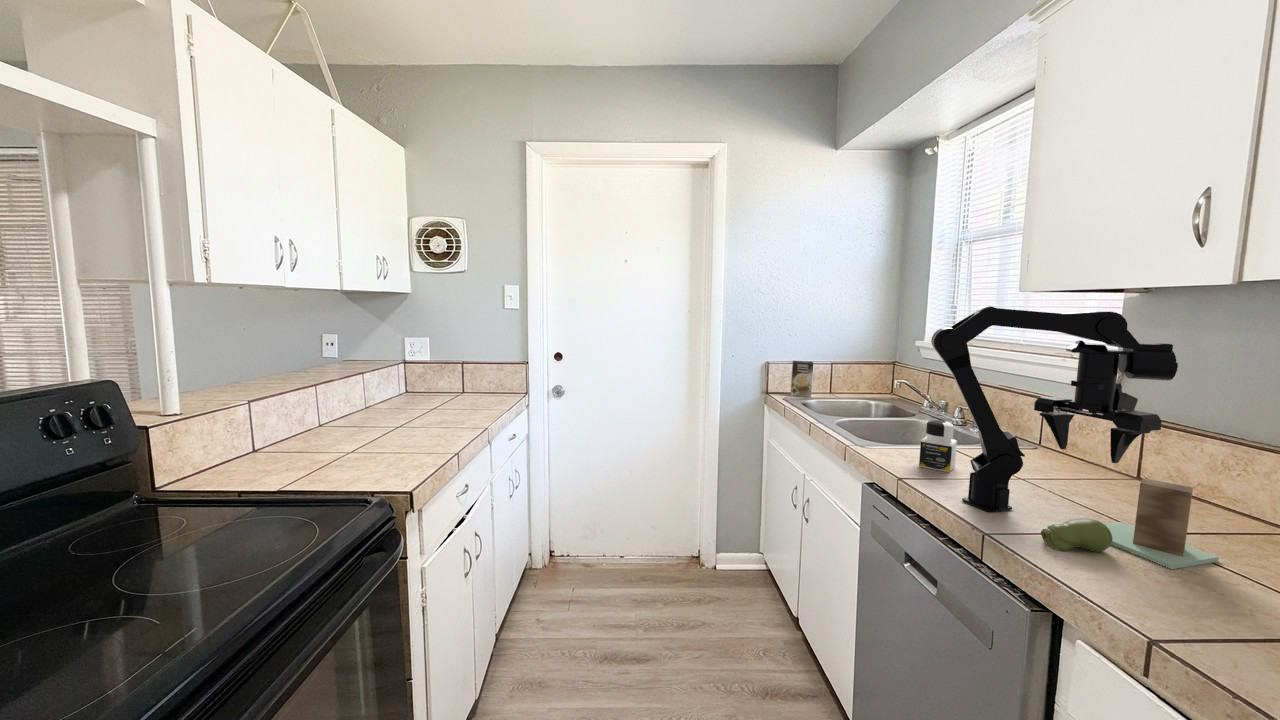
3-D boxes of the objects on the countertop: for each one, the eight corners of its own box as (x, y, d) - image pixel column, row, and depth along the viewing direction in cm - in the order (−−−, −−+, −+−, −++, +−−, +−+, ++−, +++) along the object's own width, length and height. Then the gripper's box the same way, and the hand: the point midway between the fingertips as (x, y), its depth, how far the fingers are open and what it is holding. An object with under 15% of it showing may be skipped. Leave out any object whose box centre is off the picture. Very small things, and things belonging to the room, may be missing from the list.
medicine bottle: (918, 466, 133) (921, 421, 131) (924, 460, 138) (927, 417, 137) (950, 472, 128) (953, 426, 127) (955, 466, 133) (958, 421, 132)
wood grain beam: (1132, 543, 89) (1140, 482, 87) (1135, 537, 91) (1143, 478, 90) (1182, 556, 84) (1191, 493, 83) (1184, 549, 87) (1193, 487, 85)
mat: (1077, 531, 95) (1078, 527, 95) (1120, 525, 98) (1120, 521, 98) (1171, 569, 82) (1172, 564, 81) (1218, 561, 84) (1218, 556, 84)
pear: (1119, 526, 85) (1052, 530, 86) (1122, 556, 85) (1055, 560, 87) (1095, 512, 90) (1033, 517, 92) (1097, 540, 91) (1035, 544, 92)
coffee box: (790, 396, 232) (792, 361, 230) (790, 394, 238) (791, 360, 236) (811, 397, 230) (813, 362, 228) (811, 395, 236) (812, 361, 234)
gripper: (1188, 383, 90) (1177, 467, 92) (1075, 369, 108) (1068, 440, 110) (1143, 385, 88) (1132, 472, 89) (1035, 370, 106) (1028, 443, 107)
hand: (1087, 455), depth 99 cm, fingers open, 9 cm apart
